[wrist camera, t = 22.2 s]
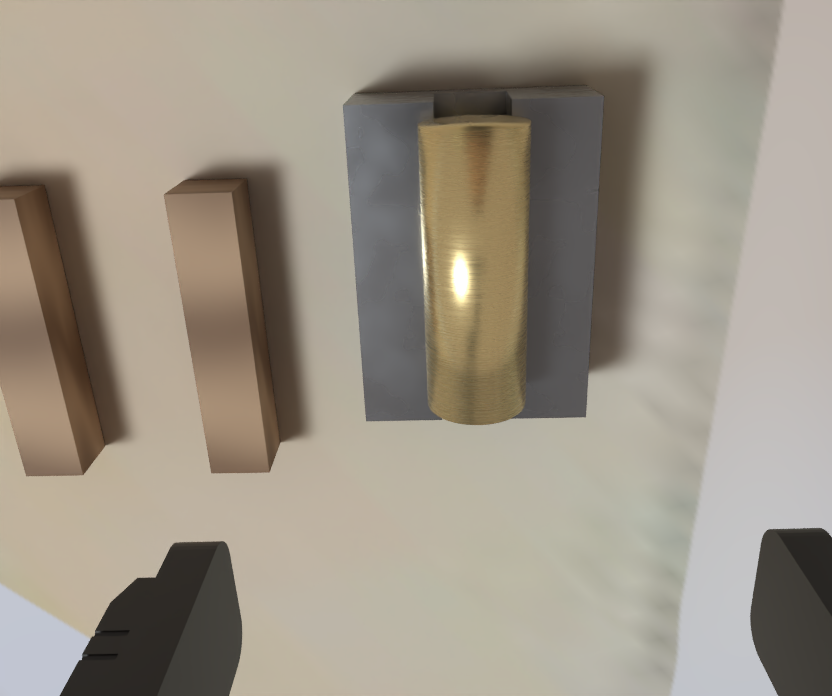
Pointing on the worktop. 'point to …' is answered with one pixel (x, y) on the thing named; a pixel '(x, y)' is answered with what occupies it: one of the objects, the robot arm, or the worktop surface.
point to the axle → (475, 264)
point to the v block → (402, 240)
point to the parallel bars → (205, 320)
